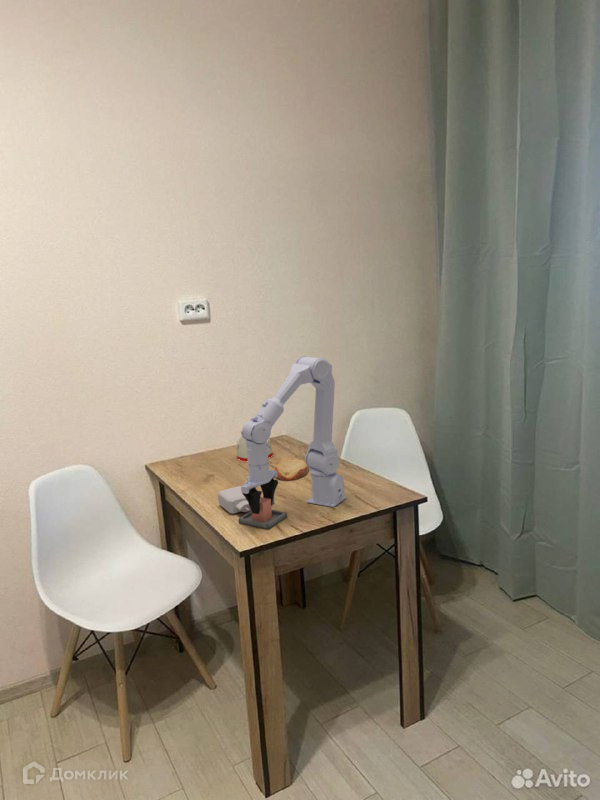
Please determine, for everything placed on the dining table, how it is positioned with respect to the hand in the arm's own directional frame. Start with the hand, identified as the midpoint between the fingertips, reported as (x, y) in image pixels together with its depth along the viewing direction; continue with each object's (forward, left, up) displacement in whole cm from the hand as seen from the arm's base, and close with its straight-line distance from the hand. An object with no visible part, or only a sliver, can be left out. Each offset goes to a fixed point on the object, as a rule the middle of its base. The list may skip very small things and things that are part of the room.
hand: (262, 509), depth 164 cm
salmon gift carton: (0, 0, -3) cm, 3 cm away
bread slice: (+17, -40, -4) cm, 43 cm away
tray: (0, 0, -3) cm, 3 cm away
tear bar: (+5, -9, -3) cm, 11 cm away
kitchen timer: (+40, -49, -4) cm, 63 cm away
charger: (+11, -4, -4) cm, 12 cm away
